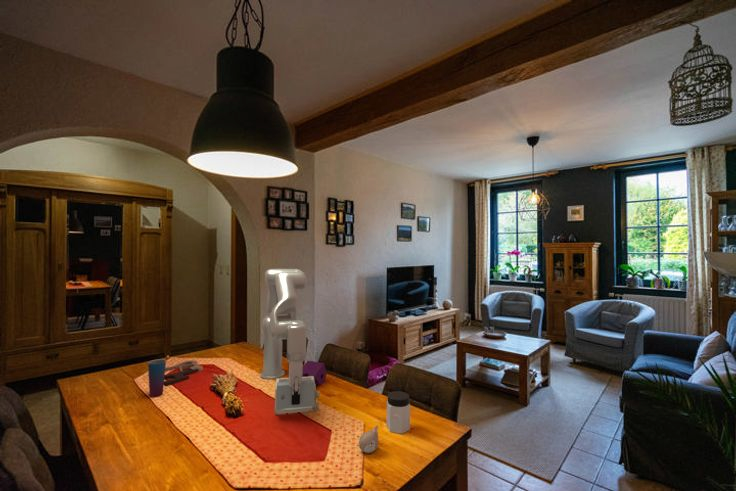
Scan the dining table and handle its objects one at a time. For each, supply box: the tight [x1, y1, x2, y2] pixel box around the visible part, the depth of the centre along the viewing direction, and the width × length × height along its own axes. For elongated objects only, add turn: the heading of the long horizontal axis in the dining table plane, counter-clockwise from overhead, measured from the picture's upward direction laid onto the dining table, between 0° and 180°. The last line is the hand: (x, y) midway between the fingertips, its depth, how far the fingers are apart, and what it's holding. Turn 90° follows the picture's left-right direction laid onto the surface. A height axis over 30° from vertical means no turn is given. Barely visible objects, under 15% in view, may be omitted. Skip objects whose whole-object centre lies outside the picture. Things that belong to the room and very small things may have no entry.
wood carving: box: [163, 359, 204, 387], centre depth 180 cm, size 28×2×24 cm
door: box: [276, 380, 316, 409], centre depth 134 cm, size 4×15×9 cm, turn 103°
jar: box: [386, 390, 411, 435], centre depth 126 cm, size 9×8×12 cm
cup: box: [147, 358, 167, 398], centre depth 152 cm, size 7×7×15 cm
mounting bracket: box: [302, 360, 327, 386], centre depth 166 cm, size 10×9×19 cm
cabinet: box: [274, 376, 321, 415], centre depth 142 cm, size 14×18×10 cm
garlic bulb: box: [358, 424, 379, 454], centre depth 111 cm, size 7×6×8 cm
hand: (295, 401), depth 134 cm, fingers closed on door, 3 cm apart
